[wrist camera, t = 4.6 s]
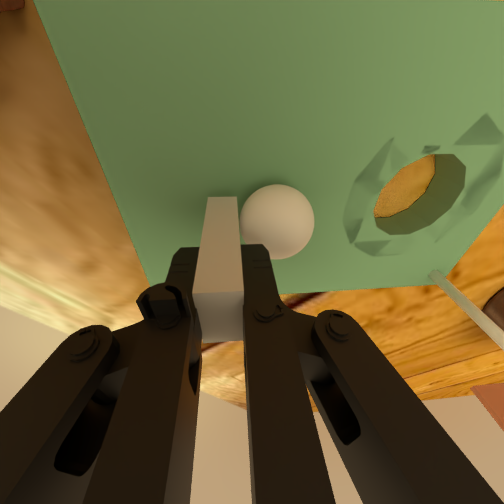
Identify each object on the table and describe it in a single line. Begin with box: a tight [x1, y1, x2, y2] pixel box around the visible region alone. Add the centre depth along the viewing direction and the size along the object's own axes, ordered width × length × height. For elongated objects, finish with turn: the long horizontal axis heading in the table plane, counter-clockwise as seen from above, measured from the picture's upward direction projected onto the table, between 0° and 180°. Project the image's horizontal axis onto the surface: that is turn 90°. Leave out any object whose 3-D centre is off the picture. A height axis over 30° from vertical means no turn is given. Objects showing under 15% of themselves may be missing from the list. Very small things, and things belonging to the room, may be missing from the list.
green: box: [33, 0, 504, 294], centre depth 15 cm, size 25×17×2 cm
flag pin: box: [428, 270, 504, 431], centre depth 15 cm, size 1×5×14 cm, turn 89°
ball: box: [239, 184, 314, 259], centre depth 12 cm, size 4×4×4 cm
